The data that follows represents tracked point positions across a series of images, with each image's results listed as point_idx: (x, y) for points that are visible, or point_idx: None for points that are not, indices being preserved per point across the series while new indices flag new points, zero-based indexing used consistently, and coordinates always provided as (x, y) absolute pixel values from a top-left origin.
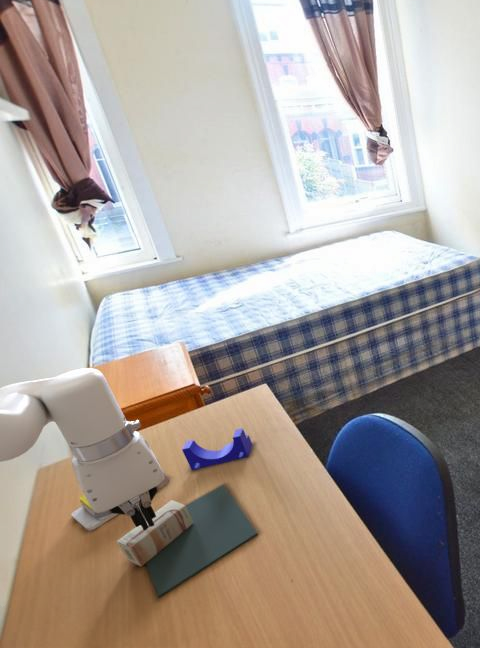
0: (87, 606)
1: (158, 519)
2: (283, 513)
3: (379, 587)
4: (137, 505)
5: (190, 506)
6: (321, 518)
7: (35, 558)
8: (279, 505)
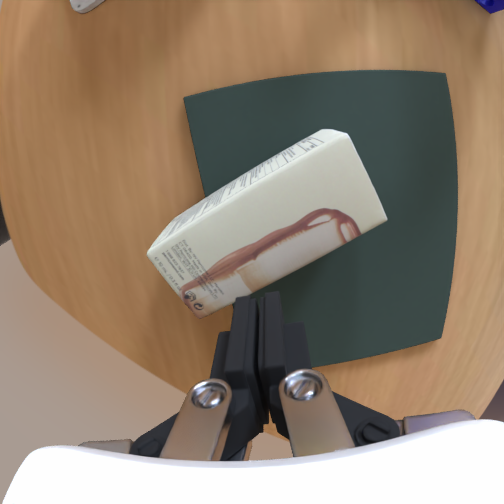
0: (117, 297)
1: (288, 236)
2: (487, 308)
3: None
4: (254, 379)
5: (354, 91)
6: (497, 355)
7: (5, 62)
8: (496, 280)
